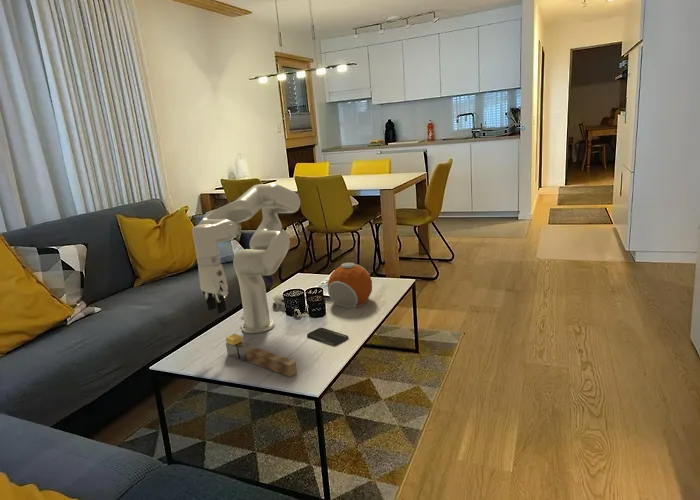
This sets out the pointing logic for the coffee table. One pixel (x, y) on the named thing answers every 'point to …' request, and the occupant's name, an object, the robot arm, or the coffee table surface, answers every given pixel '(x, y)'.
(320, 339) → the phone
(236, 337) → the tab
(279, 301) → the pale grey knobby bar
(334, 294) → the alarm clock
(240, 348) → the tong hinge
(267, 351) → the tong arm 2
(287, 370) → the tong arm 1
